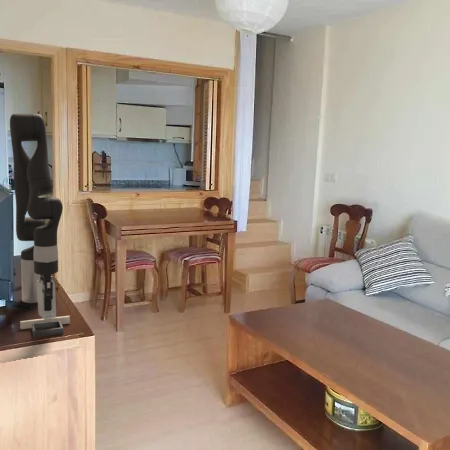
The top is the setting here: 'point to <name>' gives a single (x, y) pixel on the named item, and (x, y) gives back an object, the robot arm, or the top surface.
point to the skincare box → (40, 296)
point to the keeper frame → (47, 331)
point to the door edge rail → (29, 323)
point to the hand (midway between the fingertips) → (46, 306)
